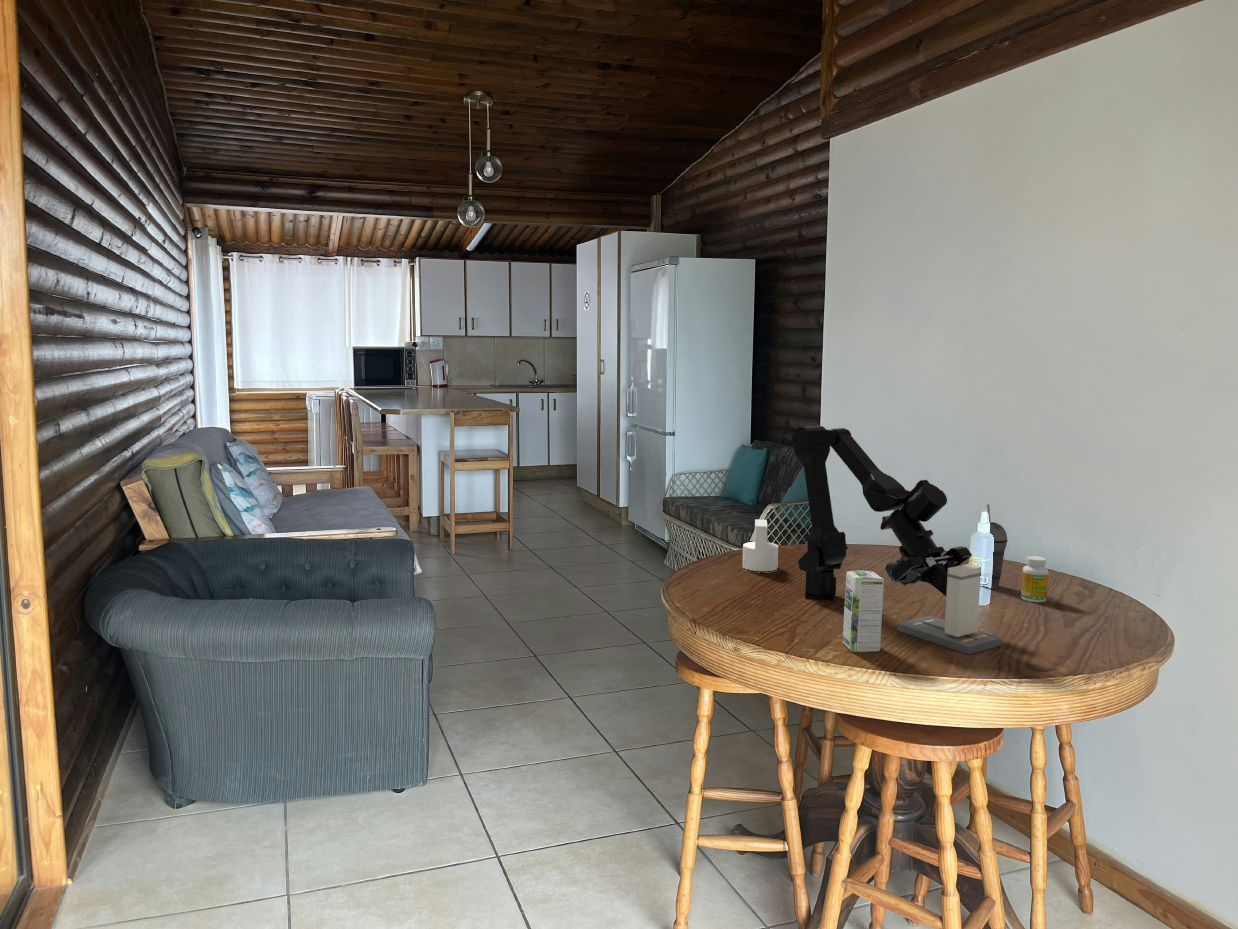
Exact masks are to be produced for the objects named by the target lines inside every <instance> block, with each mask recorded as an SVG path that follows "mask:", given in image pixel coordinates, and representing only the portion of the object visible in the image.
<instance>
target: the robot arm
mask: <svg viewBox="0 0 1238 929" xmlns="http://www.w3.org/2000/svg"><path fill="white" fill-rule="evenodd" d="M791 443H792V446H793V451H794V455H795V456H796V458H797V459H798V460H799V462H800V463H801V464H802V466H803V471H804V479H805V486H806V493H807V498H808V499H807V500H808V506H809V513H810V521H811V530H810V532H809V536H808V538H807V541H806V542H807V551H806V552H805V553H804V554H803V555H802V556H801V557H800V558H799V559H798V566H799V570H800V571H803V572H805V588H804V598H806V599H820V600H834V598H835V596H836V594H837V575H836V574H835V570H840V569H841V568H842V565H843V561H844V560H845V558H847V550H848V549H849V548H848V545H847V542H846V541H847V540H846V539H847V538H846V533H845V532H844V531H839V530H838V529H837V527H836V525H835V521H834V514H833V507H832V500H831V495H830V492H831V491H830V486H829V480H828V479H829V478H828V472H827V466H826V463H827V461H828V457H829V455H830V452H831V448H832V450H833V451H834V452H835V453H836V455H837V456H838V457H839V458H840V460H842V462H843V463H844V464H845V465H846V467H847V468H848V469H849V470H850V472H851V473H852V474H853V476H854V477H855V478H856V479H857V481H858V482H859V483H860V485H861V488H862V495H863V497H864V499H865V501H866V502H867V504H868V506H869V507H870V509H871V510H873V512H877V513H883V512H891V513H890V514H889V515H886V516H885V515H884V516H882V517H881V520H882V521H881V523H880V530H881V531H884V530H889V529H890V530H891V531H892V532H893V534H894V535H895V537H896V539H897V541H898V542H899V543H900V544H901V545H900V546H899V547H898V549H899V550H898V551H899V553H900V555H901V557H900V559H899V560H896V562H889V563H887V564H886V566H885V568H884V569H885V571H886V573H887V575H888V577H889V578H890V580H891V581H892V582H894V583H895V584H896V583H900V584H901V585H902V586H907V585H910V584H911V585H912V584H916V583H917V582H921V583H922V582H923V583H927V584H929V585H930V586H932V587H933V588H935V589H936V590H937V591H938V592H940V593H941V594H942V595H944V597H946V595H947V574H948V568H951V567H956V566H961V565H964V563H965V562H967V561H968V560H969V559H970V558H972V556H973V554H972V553H971V551H970V550H969V548H968V547H966V546H956V547H951V548H949V549H948V550H947V551H946V552H945V548H944V547H943V546H937V544H936V543H935V541H934V540H933V539H932V536H933V535H934V532H933V530H932V529H929V530H927V529H926V528H925V526H924V525H923V523H924V522H928V521H930V520H931V519H932V518H933V517H934V516H936V514H937V513H938V512H940V511H941V510H942V509H943V507H945V506H946V505H947V503H948V498H947V495H946V493H945V492H944V491H943V489H940V488H939V487H937V486H936V485H935V484H933V483H932V484H931V483H930V482H929V480H928V479H921V480H919V481H918V482H917V483H916V485H915V486H914V487H913V488H912V489H911V490H908V489H906V488H905V486H903V485H902V484H901V483H900V482H899V481H898V480H896V479H895V477H892V476H891V475H889V474H886V473H885V472H883V471H882V470H881V469H880V468H879V467H878V466H877V465H876V464H875V463H874V461H873V460H872V458H870V457H869V455H868V454H867V453H866V452H865V451H864V449H863V448H862V447H861V445H860V444H859V443H858V442H857V441H856V440H855V438H854V437H853V435H852V433H851V431H850V430H849V429H847V428H845V427H841V428H840V427H837V428H831V429H826V428H825V426H822V425H810V426H809V425H808V426H807V425H806V426H799V427H797V428H796V429H795V430H794V432H793V433H792V434H791ZM944 552H945V553H944ZM943 553H944V554H943Z"/></svg>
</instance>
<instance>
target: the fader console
mask: <svg viewBox="0 0 1238 929" xmlns="http://www.w3.org/2000/svg"><path fill="white" fill-rule="evenodd" d="M896 630H897V631H898V632H901V633H904V634H906V635H910V636H912V637H915V638H918V639H920V640H925V641H927V642H931V643H933V644H936V645H939V646H942V647H946V648H948V649H950V650H953V651H957V652H959V653H963V654H966V655H972V654H975V653H980V652H983V651H986V650H990V649H993V648H997V647H1001V646H1002V644H1003V637H1001V636H997V635H994V634H991V633H988V632H985V631H981V630H978V629H977V632H975V633H971V634H967V635H963V636H960V637H956V636H953V635H950V634H946V633H944V632H945V619H942V618H939V617H935V616H932V615H925V616H922V617H918V618H914V619H909V620H906V621H901V622H897V625H896Z"/></svg>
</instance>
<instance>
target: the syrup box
mask: <svg viewBox="0 0 1238 929" xmlns="http://www.w3.org/2000/svg"><path fill="white" fill-rule="evenodd" d="M884 585H885V578H883V577H881V576H880V575H878V573H876V572H874V571H871V570H850V571H846V578H845V590H844V591H845V595H844V610H843V627H842V628H843V629H842V630H843V631H842V644H843V645H844V646H845V647H846V648H848V649H849V650H850V652H851V653H871V652H880V651H881V639H882V623H883V622H882V620H883V604H884Z"/></svg>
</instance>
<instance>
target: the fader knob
mask: <svg viewBox="0 0 1238 929" xmlns="http://www.w3.org/2000/svg"><path fill="white" fill-rule="evenodd" d="M980 576H981V567H978V565H973V564H969V563H967V564H962V565H961V566H956V567H951V568H948V574H947V595H946V596H945V597H946V598H945V599H946V600H945V617H944V620H945V632H944V633H946V634H950V635H953V636H956V637H960V636H963V635H967V634H971V633H975V632H977V630H978V627H979V626H978V623H979V622H978V621H979V604H980V591H981V590H980V589H981V586H980Z"/></svg>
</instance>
